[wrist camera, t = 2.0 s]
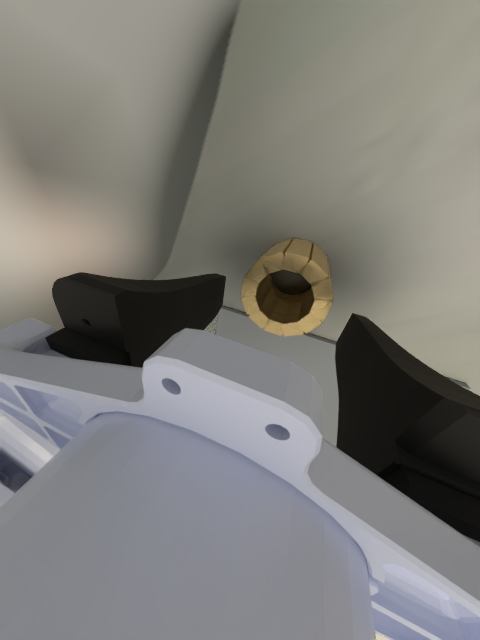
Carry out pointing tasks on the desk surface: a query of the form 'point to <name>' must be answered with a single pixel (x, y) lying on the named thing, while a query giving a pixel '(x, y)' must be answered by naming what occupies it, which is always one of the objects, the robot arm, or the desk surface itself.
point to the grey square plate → (293, 358)
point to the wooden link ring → (281, 308)
